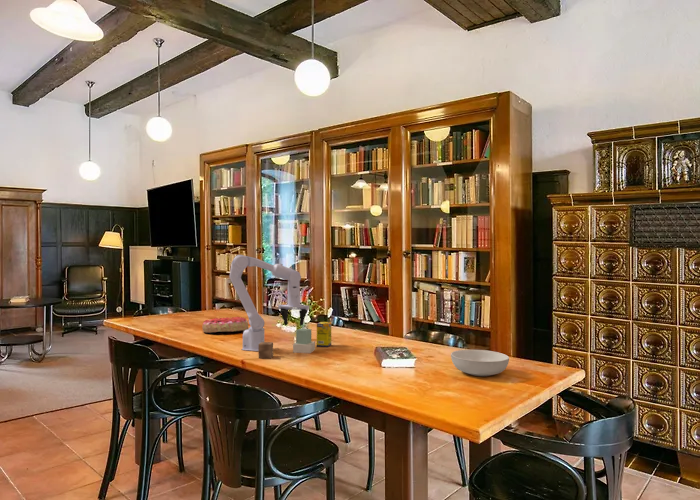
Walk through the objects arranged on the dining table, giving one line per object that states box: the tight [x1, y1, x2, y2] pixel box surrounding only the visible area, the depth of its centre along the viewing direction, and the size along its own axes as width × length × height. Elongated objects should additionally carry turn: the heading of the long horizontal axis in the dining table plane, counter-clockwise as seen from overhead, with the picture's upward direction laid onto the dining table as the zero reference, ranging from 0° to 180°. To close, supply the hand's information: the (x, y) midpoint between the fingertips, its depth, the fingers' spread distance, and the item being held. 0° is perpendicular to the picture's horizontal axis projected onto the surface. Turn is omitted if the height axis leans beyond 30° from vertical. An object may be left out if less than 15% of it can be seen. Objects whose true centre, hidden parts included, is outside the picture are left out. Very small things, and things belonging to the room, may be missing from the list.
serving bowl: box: [450, 349, 510, 377], centre depth 186 cm, size 21×21×7 cm
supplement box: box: [316, 321, 332, 348], centre depth 237 cm, size 6×6×11 cm
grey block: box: [292, 340, 316, 354], centre depth 226 cm, size 8×8×4 cm
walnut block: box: [258, 341, 274, 360], centre depth 213 cm, size 5×5×6 cm
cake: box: [201, 316, 249, 335], centre depth 279 cm, size 25×25×8 cm
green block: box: [295, 328, 312, 344], centre depth 225 cm, size 5×5×6 cm
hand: (293, 325), depth 234 cm, fingers open, 7 cm apart
